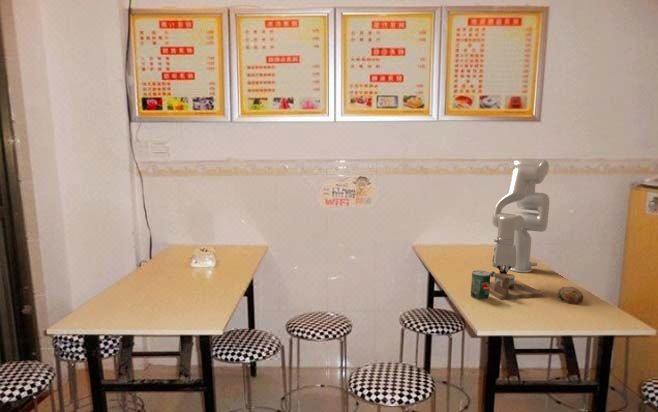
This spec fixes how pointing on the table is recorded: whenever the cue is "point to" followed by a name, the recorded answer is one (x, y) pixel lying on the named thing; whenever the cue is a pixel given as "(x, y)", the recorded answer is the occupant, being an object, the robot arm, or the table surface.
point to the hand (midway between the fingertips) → (502, 278)
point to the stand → (503, 291)
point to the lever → (511, 277)
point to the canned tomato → (480, 285)
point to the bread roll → (570, 295)
